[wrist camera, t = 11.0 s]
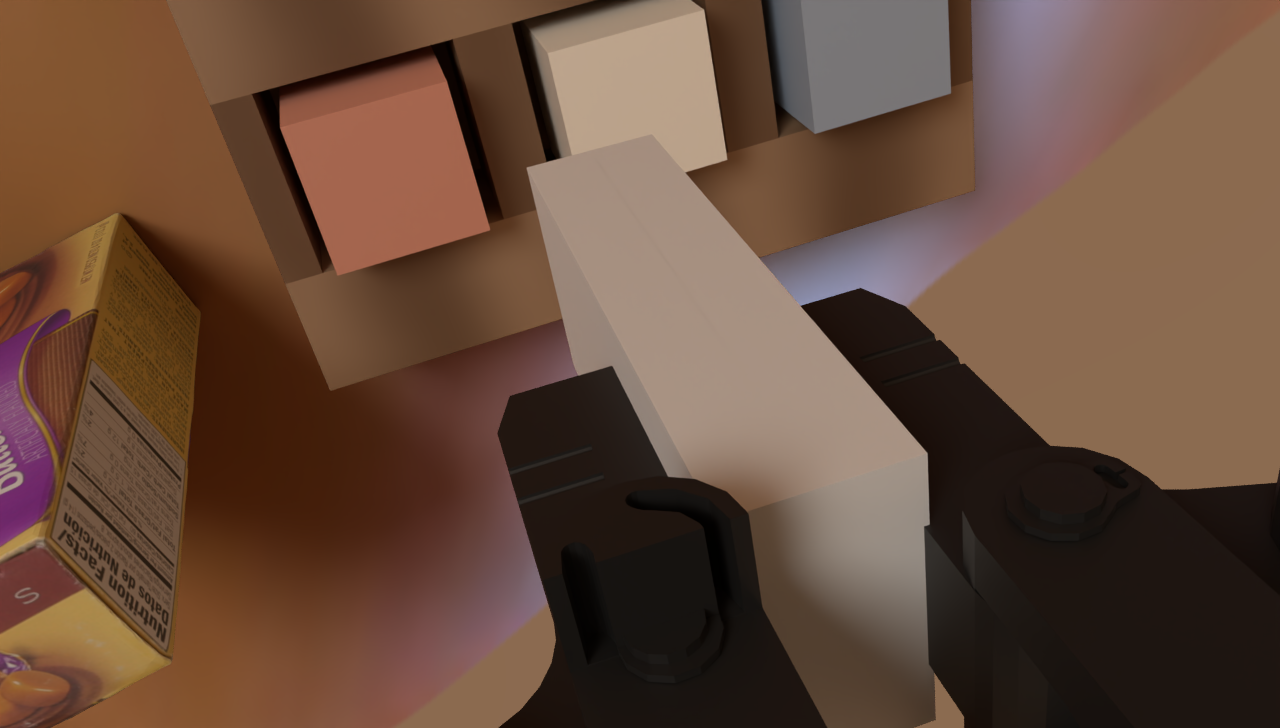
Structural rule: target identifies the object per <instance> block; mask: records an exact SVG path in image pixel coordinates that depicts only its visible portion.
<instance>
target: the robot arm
mask: <svg viewBox="0 0 1280 728" xmlns="http://www.w3.org/2000/svg"><path fill="white" fill-rule="evenodd" d="M527 172H528V176H529V180H530V184H531V189H532V193H533V197H534V201H535V205H536V210H537V214H538V218H539V222H540V226H541V230H542V235H543V239H544V243H545V247H546V251H547V256H548V260H549V264H550V268H551V272H552V276H553V281H554V285H555V289H556V293H557V297H558V302H559V306H560V310H561V314H562V318H563V322H564V327H565V331H566V335H567V339H568V343H569V348H570V352H571V356H572V360H573V364H574V367H575V369H576V372H577V374H578V376H576V377H572V378H569V379H566V380H562V381H559V382H555V383H552V384H549V385H545V386H542V387H539V388H535V389H532V390H528V391H525V392H522V393H518V394H515V395H512V396H510V397H509V400H508V403H507V406H506V409H505V412H504V415H503V418H502V421H501V424H500V427H499V430H498V437H499V440H500V443H501V447H502V450H503V454H504V457H505V460H506V464H507V467H508V470H509V474H510V477H511V481H512V484H513V487H514V491H515V494H516V497H517V501H518V504H519V508H520V511H521V514H522V518H523V521H524V524H525V528H526V531H527V535H528V538H529V541H530V545H531V548H532V551H533V555H534V558H535V561H536V565H537V568H538V571H539V575H540V578H541V581H542V585H543V588H544V591H545V595H546V598H547V601H548V605H549V608H550V611H551V615H552V618H553V621H554V626H555V635H556V643H555V648H554V654H553V659H552V663H551V665H550V667H549V669H548V671H547V674H546V675H545V677H544V679H543V681H542V683H541V686H540V687H539V688H538V690H537V691H536V692H535V693H534V695H533V696H532V697H531V698H530V699H529V700H528V702H527V703H526V704H525V705H524V707H523V708H522V709H521V710H520V711H519V712H517V713H516V714H515V715H514V716H512V717H511V718H510V719H509V720H508V721H506V722H505V723H504V724H503V725H501V726H500V727H499V728H914V727H917V726H920V725H922V724H925V723H928V722H931V721H934V720H936V719H935V718H936V717H935V687H934V685H935V684H934V673H935V674H936V676H937V677H938V679H939V680H940V681H941V683H942V685H943V686H944V688H945V689H946V691H947V692H948V694H949V695H950V696H951V698H952V699H953V701H954V702H955V704H956V705H957V707H958V708H959V710H960V711H961V713H962V714H963V716H964V728H1280V470H1279V476H1278V481H1277V483H1268V484H1255V485H1242V486H1229V487H1216V488H1202V489H1189V490H1161V489H1160V488H1159V487H1158V486H1157V485H1156V484H1155V483H1154V482H1153V481H1151V480H1150V479H1149V478H1148V477H1147V476H1145V475H1143V474H1142V473H1140V472H1139V471H1137V470H1135V469H1134V468H1132V467H1131V466H1129V465H1128V464H1126V463H1124V462H1123V461H1121V460H1120V459H1118V458H1114V457H1111V456H1108V455H1104V454H1101V453H1098V452H1095V451H1091V450H1088V449H1085V448H1076V447H1060V446H1050V445H1049V444H1047V443H1046V442H1045V441H1044V440H1043V439H1042V438H1041V437H1040V436H1039V435H1038V434H1037V433H1036V432H1035V431H1034V430H1033V429H1032V428H1031V427H1030V426H1029V425H1028V424H1027V423H1026V422H1025V421H1023V420H1022V418H1021V417H1020V416H1018V415H1017V414H1016V413H1015V412H1014V411H1013V410H1012V409H1011V408H1010V407H1009V406H1008V405H1007V404H1006V403H1005V402H1004V401H1003V400H1002V399H1001V398H1000V397H999V396H998V395H997V394H996V393H995V392H994V391H992V389H990V388H989V387H988V386H987V385H986V384H985V383H984V382H983V381H982V380H981V379H980V378H979V377H978V376H977V375H976V374H975V373H974V372H973V371H972V370H971V369H970V368H969V367H968V366H967V365H966V364H960V362H959V359H958V357H957V356H956V355H955V354H954V353H953V352H952V351H951V350H950V349H949V348H948V347H947V346H946V345H945V344H944V343H943V342H942V341H941V340H938V341H936V339H935V336H934V334H933V333H932V332H931V331H930V330H929V329H928V328H927V327H926V326H925V325H924V324H923V323H922V322H921V321H920V320H919V319H918V318H917V317H916V316H915V315H914V314H913V313H912V312H911V311H910V310H909V309H908V308H907V307H906V306H903V305H901V304H898V303H896V302H894V301H891V300H889V299H886V298H884V297H881V296H879V295H876V294H874V293H871V292H869V291H867V290H864V289H862V288H859V289H856V290H852V291H849V292H846V293H842V294H839V295H836V296H832V297H829V298H825V299H822V300H819V301H815V302H812V303H809V304H805V305H802V306H800V305H799V304H798V303H797V302H796V300H795V299H794V298H793V297H792V296H791V295H790V294H789V292H788V291H787V290H786V289H785V288H784V287H783V285H782V284H781V283H780V282H779V281H778V280H777V278H776V277H775V276H774V275H773V274H772V273H771V272H770V270H769V269H768V268H767V267H766V266H765V265H764V263H763V262H762V261H761V260H760V259H759V258H758V256H757V255H756V254H755V253H754V252H753V251H752V250H751V248H750V247H749V246H748V245H747V244H746V243H745V241H744V240H743V239H742V238H741V237H740V236H739V234H738V233H737V232H736V231H735V230H734V229H733V228H732V226H731V225H730V224H729V223H728V222H727V221H726V219H725V218H724V217H723V216H722V215H721V214H720V212H719V211H718V210H717V209H716V208H715V207H714V206H713V204H712V203H711V202H710V201H709V200H708V199H707V197H706V196H705V195H704V194H703V193H702V192H701V190H700V189H699V188H698V187H697V186H696V185H695V184H694V182H693V181H692V180H691V179H690V178H689V177H688V175H687V174H686V173H685V172H684V171H683V170H682V168H681V167H680V166H679V165H678V164H677V163H676V162H675V160H674V159H673V158H672V157H671V156H670V155H669V153H668V152H667V151H666V150H665V149H664V148H663V146H662V145H661V144H660V143H659V142H658V141H657V140H656V138H655V137H654V136H653V135H652V134H650V135H646V136H643V137H639V138H635V139H632V140H628V141H624V142H620V143H617V144H613V145H609V146H605V147H602V148H598V149H594V150H590V151H587V152H583V153H579V154H575V155H572V156H568V157H564V158H561V159H557V160H553V161H549V162H546V163H542V164H538V165H534V166H531V167H527Z"/></svg>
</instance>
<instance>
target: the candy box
mask: <svg viewBox="0 0 1280 728" xmlns="http://www.w3.org/2000/svg"><path fill="white" fill-rule="evenodd" d="M200 318H201V311H200V310H199V309H198V308H197V307H196V306H195V305H194V304H193V303H192V302H191V300H190V299H189V298H188V297H187V295H186V294H185V293H184V292H183V290H182V289H181V288H180V287H179V286H178V284H177V283H176V282H175V281H174V279H173V278H172V277H171V276H170V274H169V273H168V272H167V271H166V270H165V268H164V267H163V266H162V265H161V263H160V262H159V261H158V260H157V258H156V257H155V256H154V255H153V254H152V252H151V251H150V250H149V249H148V247H147V246H146V245H145V244H144V242H143V241H142V240H141V239H140V237H139V236H138V235H137V233H136V232H135V231H134V230H133V228H132V227H131V226H130V224H129V223H128V222H127V220H126V219H125V218H124V217H123V216H122V214H120V213H115V214H113V215H112V216H110V217H108V218H106V219H105V220H103V221H101V222H99V223H97V224H95V225H92V226H90V227H88V228H86V229H84V230H82V231H80V232H79V233H77V234H75V235H73V236H71V237H69V238H67V239H65V240H63V241H61V242H59V243H58V244H56V245H54V246H52V247H50V248H48V249H46V250H45V251H43V252H42V253H40V254H38V255H36V256H34V257H33V258H31V259H28V260H26V261H24V262H22V263H20V264H18V265H16V266H14V267H12V268H10V269H8V270H6V271H4V272H2V273H0V728H51V727H53V726H55V725H57V724H59V723H61V722H63V721H65V720H68V719H70V718H72V717H74V716H75V715H77V714H79V713H81V712H83V711H85V710H86V709H88V708H90V707H92V706H94V705H96V704H98V703H100V702H102V701H103V700H105V699H107V698H109V697H111V696H113V695H114V694H116V693H118V692H120V691H121V690H123V689H125V688H126V687H128V686H130V685H132V684H133V683H135V682H137V681H139V680H141V679H143V678H145V677H146V676H148V675H150V674H152V673H154V672H156V671H157V670H159V669H161V668H163V667H165V666H167V665H169V664H171V662H172V657H173V649H174V638H175V626H176V615H177V605H178V590H179V579H180V568H181V550H182V541H183V530H184V516H185V503H186V494H187V479H188V460H189V449H190V440H191V436H190V433H191V425H192V415H193V406H194V388H195V371H196V360H197V348H198V337H199V328H200Z"/></svg>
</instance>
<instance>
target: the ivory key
mask: <svg viewBox="0 0 1280 728" xmlns="http://www.w3.org/2000/svg"><path fill="white" fill-rule="evenodd" d="M519 22H520V26H521V30H522V34H523V38H524V42H525V46H526V51H527V55H528V59H529V63H530V67H531V71H532V75H533V79H534V83H535V87H536V91H537V95H538V99H539V103H540V107H541V111H542V115H543V119H544V123H545V127H546V131H547V135H548V139H549V143H550V147H551V151H552V153H553V154H554V156H555V158H556V159H561V158H564V157H568V156H572V155H575V154H579V153H583V152H587V151H590V150H594V149H598V148H602V147H605V146H609V145H613V144H617V143H620V142H624V141H628V140H632V139H635V138H639V137H643V136H646V135H650V134H652V135H653V136H654V137H655V138H656V140H657V141H658V142H659V143H660V144H661V145H662V146H663V148H664V149H665V150H666V151H667V152H668V153H669V155H670V156H671V157H672V158H673V159H674V160H675V162H676V163H677V164H678V165H679V166H680V167H681V168H682V170H683V171H684V172H688V171H692V170H695V169H698V168H702V167H705V166H708V165H712V164H715V163H719V162H722V161H725V160H727V154H726V148H725V141H724V135H723V128H722V122H721V115H720V109H719V103H718V96H717V90H716V83H715V77H714V70H713V64H712V57H711V51H710V45H709V38H708V32H707V25H706V19H705V12H704V9H702V8H701V7H700V6H698V5H697V4H695V3H694V2H693V1H691V0H594V1H591V2H587V3H583V4H580V5H576V6H572V7H569V8H565V9H561V10H558V11H554V12H550V13H547V14H543V15H539V16H536V17H532V18H528V19H525V20H521V21H519Z"/></svg>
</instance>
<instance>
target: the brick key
mask: <svg viewBox="0 0 1280 728" xmlns="http://www.w3.org/2000/svg"><path fill="white" fill-rule="evenodd" d="M279 91H280V129H281V131H282V134H283V136H284V139H285V142H286V144H287V147H288V149H289V152H290V154H291V157H292V160H293V162H294V165H295V167H296V170H297V173H298V175H299V178H300V180H301V183H302V185H303V188H304V191H305V193H306V196H307V198H308V201H309V203H310V206H311V209H312V211H313V214H314V216H315V219H316V221H317V224H318V227H319V229H320V232H321V234H322V237H323V240H324V242H325V245H326V247H327V250H328V252H329V255H330V258H331V260H332V263H333V265H334V268H335V270H336V273H337V276H338V275H342V274H345V273H348V272H352V271H355V270H359V269H362V268H365V267H369V266H372V265H375V264H379V263H382V262H385V261H389V260H392V259H396V258H399V257H402V256H406V255H409V254H412V253H416V252H419V251H422V250H426V249H429V248H433V247H436V246H439V245H443V244H446V243H449V242H453V241H456V240H459V239H463V238H466V237H470V236H473V235H476V234H480V233H483V232H486V231H490V227H489V224H488V220H487V217H486V213H485V210H484V206H483V203H482V200H481V196H480V193H479V189H478V186H477V183H476V179H475V176H474V172H473V169H472V166H471V162H470V159H469V155H468V152H467V148H466V145H465V142H464V138H463V135H462V131H461V128H460V125H459V121H458V118H457V114H456V111H455V108H454V104H453V101H452V97H451V94H450V90H449V87H448V84H447V81H446V78H445V76H444V74H443V72H442V70H441V67H440V65H439V63H438V61H437V59H436V56H435V54H434V52H433V50H432V48H431V45H429V46H426V47H422V48H418V49H415V50H411V51H407V52H404V53H400V54H396V55H393V56H389V57H385V58H382V59H378V60H374V61H371V62H367V63H363V64H360V65H356V66H352V67H349V68H345V69H341V70H338V71H334V72H330V73H327V74H323V75H319V76H316V77H312V78H308V79H305V80H301V81H297V82H294V83H290V84H286V85H283V86H279Z"/></svg>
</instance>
